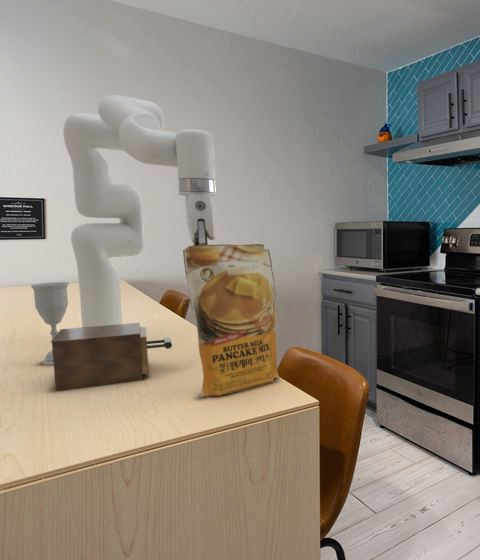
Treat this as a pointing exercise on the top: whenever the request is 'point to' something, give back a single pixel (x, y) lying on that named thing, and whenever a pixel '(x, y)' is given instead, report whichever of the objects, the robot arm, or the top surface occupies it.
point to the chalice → (51, 307)
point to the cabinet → (97, 355)
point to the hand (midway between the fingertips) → (201, 271)
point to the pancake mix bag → (233, 315)
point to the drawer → (144, 347)
